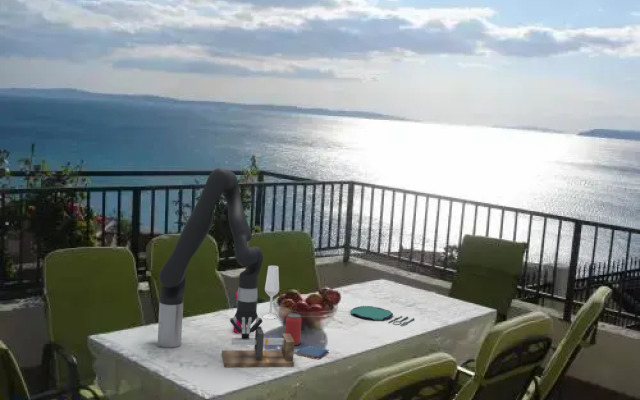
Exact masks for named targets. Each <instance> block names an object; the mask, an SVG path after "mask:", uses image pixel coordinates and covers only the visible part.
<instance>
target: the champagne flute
mask: <svg viewBox="0 0 640 400" xmlns="http://www.w3.org/2000/svg"><path fill="white" fill-rule="evenodd" d="M267 266H268V267H267V272H266V280H265V286H264V291H265V293H266V294H267V295H268V296H269V297H270V298H269V309H268V310H269V312H268V313H266V314H265V315H263V316H262V317H263V318H264V319H267V318H268V320H269V319H270V320H273V319H274V318H275V319H277V318H278V316H277V315H276V314H274V313H273V301H274V300H273V297H275V296H277V294H278V293H279V292H280V278H279V277H280V276H279V275H280V273H279V272H280V271H279V269H280V268H279V266H278V265H267Z"/></svg>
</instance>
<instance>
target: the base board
mask: <svg viewBox="0 0 640 400" xmlns="http://www.w3.org/2000/svg"><path fill="white" fill-rule="evenodd" d="M281 338H284V339H285V345H281V349H280V350H279V349H276V350H274V349H273V350H272V349H270V350H269V349H268V350H267V349H265V350H264V349H263V356H262V357H257V355H256V352H255V349H254V350H249V349H248V350H244V349H243V350H241V349H240V350H221V357H222V360H223V361H222V363H223V367H224V368H273V367H274V368H284V367H286V368H287V367H289V368H290V367H294V366H295V362H294V354H295V353H294V351H295V345H294V340H293V338H292V336H291V334H285V333H282V336H281Z"/></svg>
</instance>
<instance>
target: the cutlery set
mask: <svg viewBox="0 0 640 400" xmlns="http://www.w3.org/2000/svg"><path fill="white" fill-rule="evenodd" d="M349 312H350V315H351V316H352V315H354V316H357V317H359V318H363V319H368V320H374V321H381V320H386V319H390V318H391V317H392V316H393V315H394V313H393V312H392V311H391V310H389V309H385V308H382V307H376V306H373V305H360V306H357V307H354V308H352V309H351V310H350V311H349ZM400 318H401V320H398V319H400ZM407 319H409V316H405V317H404V318H403V315H400V316H399V317H395V318H394V319H391V320H389V321H388V324H390V323H393V325H398V326H400V327H405V326H407V325H408V324H409V323H412V322H413V321H415V317H413V318H411V319H410V320H409V321H405V320H407ZM403 321H404V322H403Z"/></svg>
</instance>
